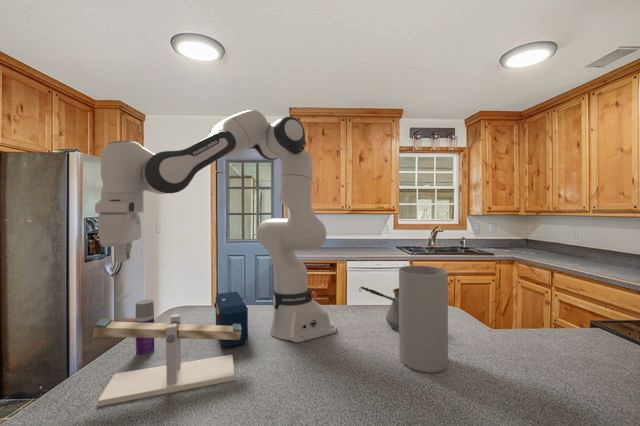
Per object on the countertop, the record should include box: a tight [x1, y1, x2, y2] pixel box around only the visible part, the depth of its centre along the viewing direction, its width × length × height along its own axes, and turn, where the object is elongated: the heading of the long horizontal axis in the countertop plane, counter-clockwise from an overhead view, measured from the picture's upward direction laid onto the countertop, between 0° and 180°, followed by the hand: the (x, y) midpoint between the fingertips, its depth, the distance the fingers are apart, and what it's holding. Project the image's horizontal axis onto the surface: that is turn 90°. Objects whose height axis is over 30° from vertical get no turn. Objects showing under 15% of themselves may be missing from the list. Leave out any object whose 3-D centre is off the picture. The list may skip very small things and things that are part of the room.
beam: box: [92, 318, 242, 340], centre depth 72 cm, size 32×4×3 cm, turn 109°
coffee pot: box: [358, 286, 399, 331], centre depth 102 cm, size 21×12×15 cm, turn 98°
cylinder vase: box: [398, 265, 449, 374], centre depth 79 cm, size 12×12×25 cm
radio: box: [213, 291, 249, 348], centre depth 97 cm, size 21×9×20 cm, turn 24°
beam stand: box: [97, 313, 236, 407], centre depth 72 cm, size 28×11×15 cm, turn 109°
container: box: [134, 299, 155, 358], centre depth 85 cm, size 5×5×15 cm
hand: (123, 260), depth 73 cm, fingers closed
